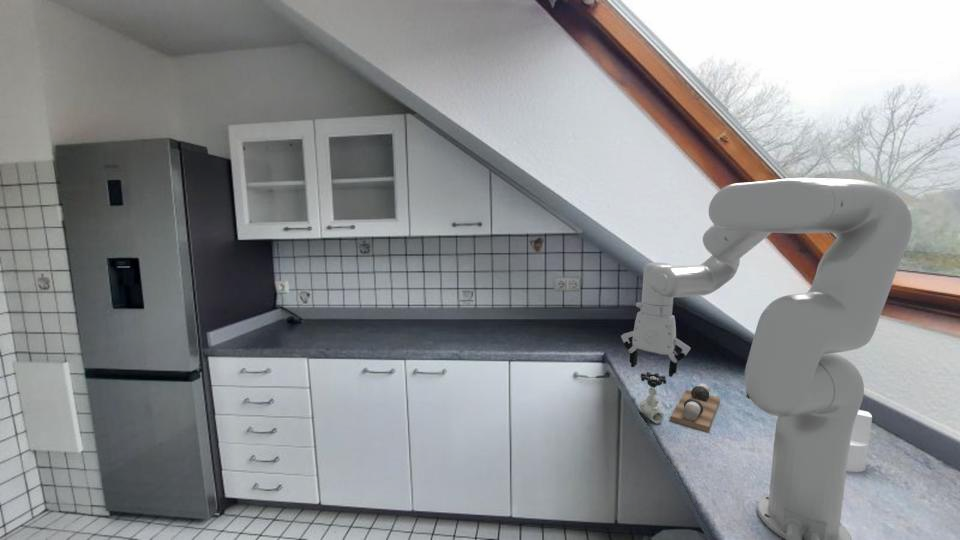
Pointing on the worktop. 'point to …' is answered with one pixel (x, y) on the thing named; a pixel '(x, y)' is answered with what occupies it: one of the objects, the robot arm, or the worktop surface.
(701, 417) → the pipe board
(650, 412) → the valve
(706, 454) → the worktop surface
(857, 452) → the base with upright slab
